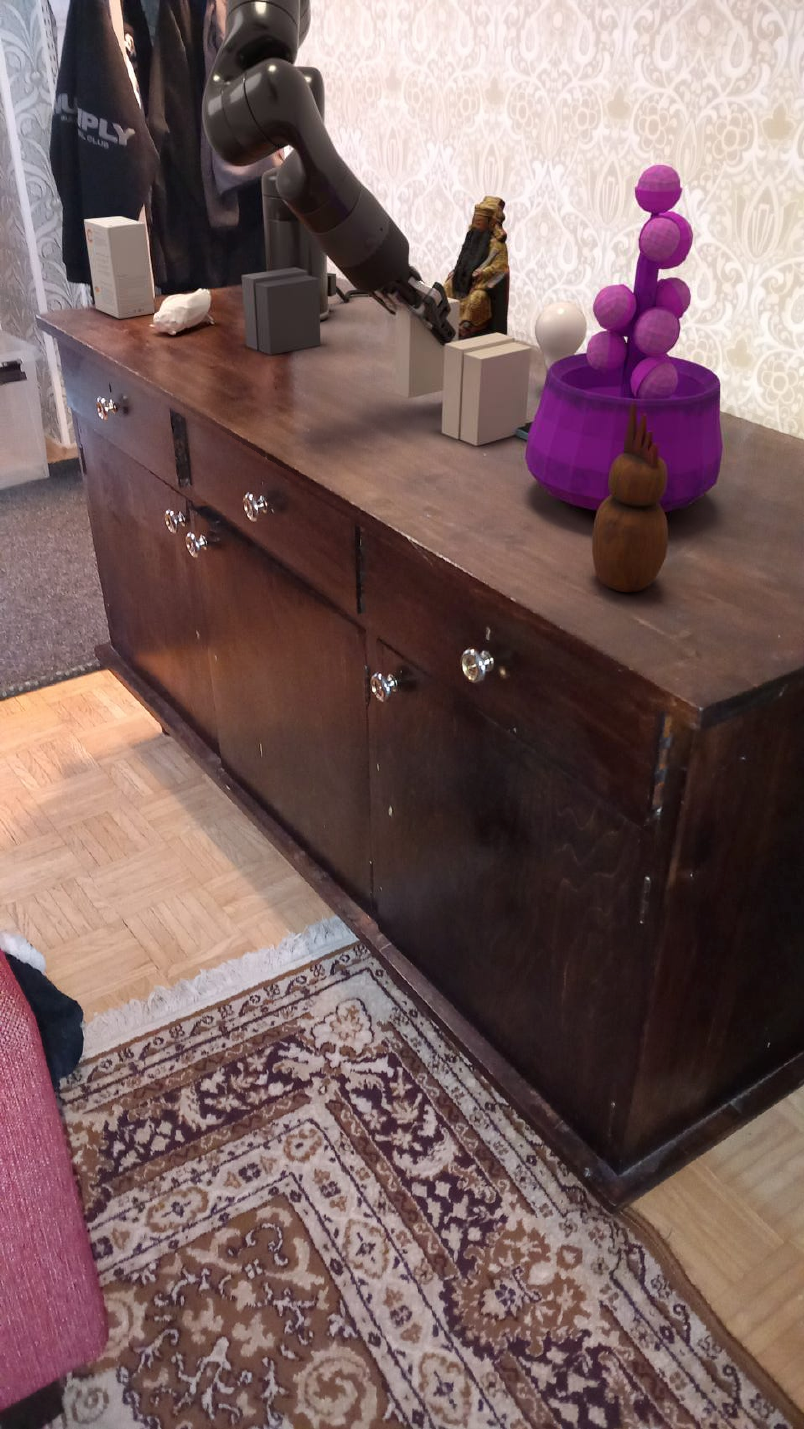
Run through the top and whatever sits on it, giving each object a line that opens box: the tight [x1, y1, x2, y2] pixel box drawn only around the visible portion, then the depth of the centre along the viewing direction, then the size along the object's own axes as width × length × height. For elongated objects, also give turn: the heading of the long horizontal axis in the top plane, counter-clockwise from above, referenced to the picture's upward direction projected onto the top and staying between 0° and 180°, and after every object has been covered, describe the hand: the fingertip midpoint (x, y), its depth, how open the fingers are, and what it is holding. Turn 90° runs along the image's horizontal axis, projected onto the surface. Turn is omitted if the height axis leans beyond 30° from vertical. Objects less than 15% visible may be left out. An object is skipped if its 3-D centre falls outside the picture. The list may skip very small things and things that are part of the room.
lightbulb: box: [534, 300, 588, 377], centre depth 133 cm, size 6×6×11 cm
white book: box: [394, 297, 460, 399], centre depth 125 cm, size 3×8×10 cm, turn 130°
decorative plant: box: [524, 164, 724, 513], centre depth 98 cm, size 19×18×30 cm
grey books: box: [241, 267, 322, 356], centre depth 149 cm, size 6×9×10 cm, turn 130°
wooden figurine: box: [591, 402, 669, 593], centre depth 87 cm, size 7×6×15 cm
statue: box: [442, 195, 511, 341], centre depth 143 cm, size 12×8×20 cm, turn 29°
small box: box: [83, 215, 156, 320], centre depth 163 cm, size 8×6×13 cm
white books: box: [441, 333, 532, 447], centre depth 120 cm, size 6×8×10 cm
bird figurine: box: [149, 288, 215, 336], centre depth 157 cm, size 5×7×10 cm
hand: (440, 336), depth 126 cm, fingers closed on white book, 2 cm apart
